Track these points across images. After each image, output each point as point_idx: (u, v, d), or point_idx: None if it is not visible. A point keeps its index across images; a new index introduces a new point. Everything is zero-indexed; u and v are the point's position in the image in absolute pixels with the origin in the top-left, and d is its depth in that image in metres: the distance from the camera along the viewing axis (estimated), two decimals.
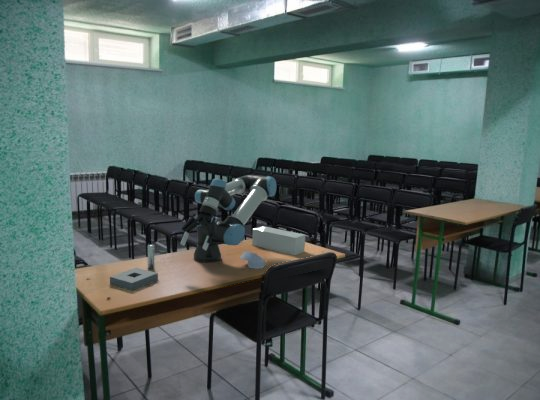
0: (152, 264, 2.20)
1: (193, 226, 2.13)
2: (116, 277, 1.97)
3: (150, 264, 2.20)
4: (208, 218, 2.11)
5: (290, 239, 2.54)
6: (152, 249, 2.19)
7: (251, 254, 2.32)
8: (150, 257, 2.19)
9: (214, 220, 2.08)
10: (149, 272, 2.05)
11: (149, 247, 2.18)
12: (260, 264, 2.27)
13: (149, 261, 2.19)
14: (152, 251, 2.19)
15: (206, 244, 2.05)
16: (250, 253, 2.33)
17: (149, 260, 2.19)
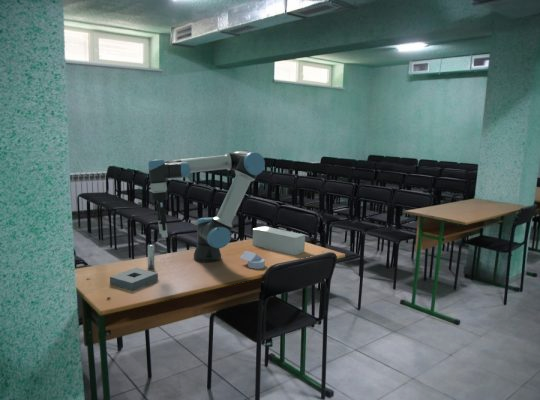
0: (152, 264, 2.20)
1: (160, 214, 2.14)
2: (116, 277, 1.97)
3: (150, 264, 2.20)
4: (158, 204, 2.06)
5: (290, 239, 2.54)
6: (152, 249, 2.19)
7: (251, 254, 2.32)
8: (150, 257, 2.19)
9: (159, 206, 2.02)
10: (149, 272, 2.05)
11: (149, 247, 2.18)
12: (260, 264, 2.27)
13: (149, 261, 2.19)
14: (152, 251, 2.19)
15: (163, 232, 2.03)
16: (250, 253, 2.33)
17: (149, 260, 2.19)
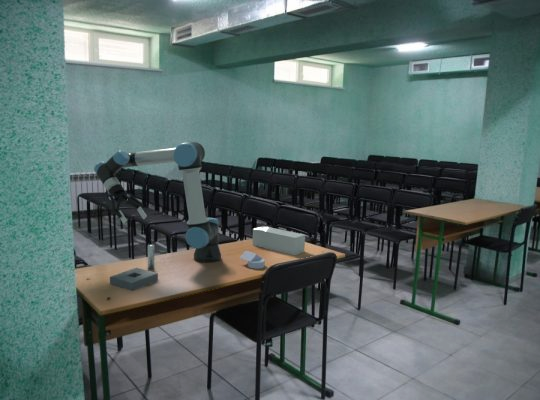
0: (152, 264, 2.20)
1: (131, 203, 2.28)
2: (116, 277, 1.97)
3: (150, 264, 2.20)
4: None
5: (290, 239, 2.54)
6: (152, 249, 2.19)
7: (251, 254, 2.32)
8: (150, 257, 2.19)
9: (109, 200, 2.20)
10: (149, 272, 2.05)
11: (149, 247, 2.18)
12: (260, 264, 2.27)
13: (149, 261, 2.19)
14: (152, 251, 2.19)
15: (121, 218, 2.17)
16: (250, 253, 2.33)
17: (149, 260, 2.19)
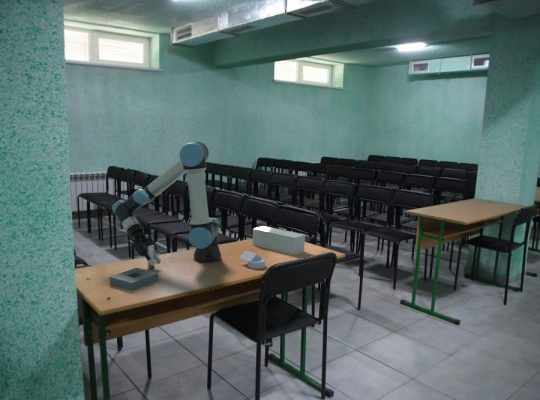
0: None
1: (147, 245, 2.23)
2: (116, 277, 1.97)
3: (150, 264, 2.20)
4: None
5: (289, 239, 2.54)
6: (152, 249, 2.19)
7: (251, 254, 2.32)
8: None
9: (131, 243, 2.18)
10: (149, 272, 2.05)
11: (149, 247, 2.18)
12: (260, 264, 2.27)
13: None
14: (152, 251, 2.19)
15: (150, 261, 2.18)
16: (250, 253, 2.33)
17: None
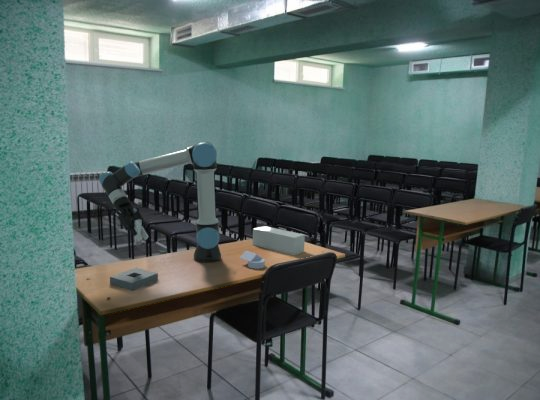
0: None
1: (134, 219, 2.11)
2: (116, 277, 1.97)
3: None
4: None
5: (289, 239, 2.54)
6: (139, 224, 2.06)
7: (251, 254, 2.32)
8: None
9: (117, 217, 2.05)
10: (149, 272, 2.05)
11: (136, 221, 2.06)
12: (260, 264, 2.27)
13: None
14: (139, 226, 2.06)
15: (137, 236, 2.05)
16: (250, 253, 2.33)
17: None
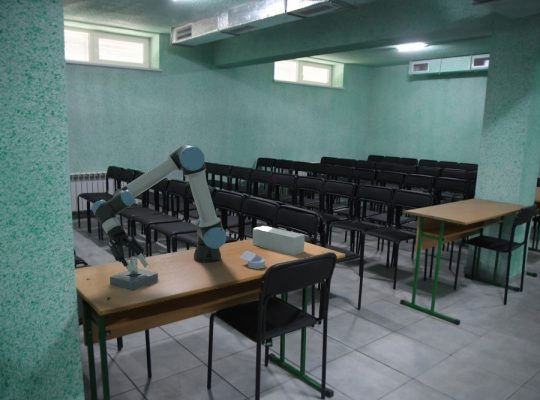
0: None
1: (132, 248, 2.04)
2: (116, 277, 1.97)
3: None
4: None
5: (289, 239, 2.54)
6: (135, 261, 1.98)
7: (251, 254, 2.32)
8: (133, 270, 1.99)
9: (109, 246, 1.97)
10: (149, 272, 2.05)
11: (131, 259, 1.98)
12: (260, 264, 2.27)
13: (132, 274, 1.99)
14: (135, 264, 1.98)
15: (128, 267, 1.95)
16: (250, 253, 2.32)
17: (132, 273, 1.99)
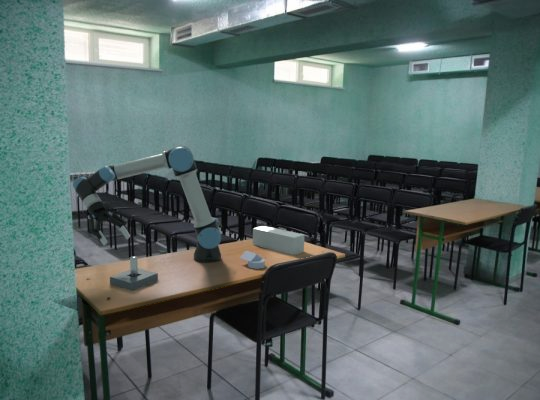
0: None
1: (113, 222, 2.09)
2: (116, 277, 1.97)
3: None
4: None
5: (289, 239, 2.55)
6: (135, 261, 1.98)
7: (251, 254, 2.32)
8: (133, 270, 1.99)
9: (88, 220, 2.01)
10: (149, 272, 2.05)
11: (131, 259, 1.98)
12: (260, 264, 2.27)
13: (132, 274, 1.99)
14: (135, 263, 1.99)
15: (102, 240, 1.98)
16: (250, 253, 2.32)
17: (132, 273, 1.99)
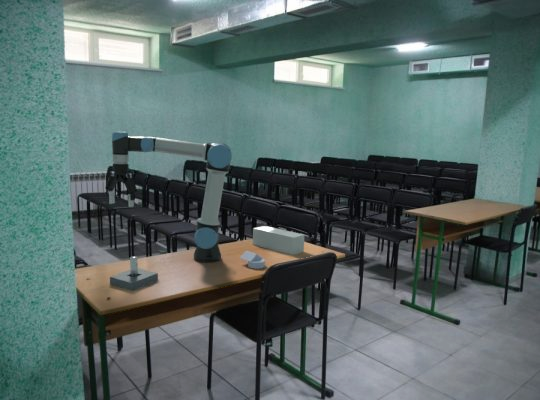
0: None
1: (114, 184, 2.19)
2: (116, 277, 1.97)
3: None
4: (123, 175, 2.14)
5: (288, 239, 2.55)
6: (135, 261, 1.98)
7: (251, 254, 2.32)
8: (133, 270, 1.99)
9: (129, 177, 2.12)
10: (149, 272, 2.05)
11: (132, 259, 1.98)
12: (260, 264, 2.27)
13: (132, 274, 1.99)
14: (135, 263, 1.99)
15: (131, 202, 2.15)
16: (250, 253, 2.33)
17: (132, 273, 1.99)
